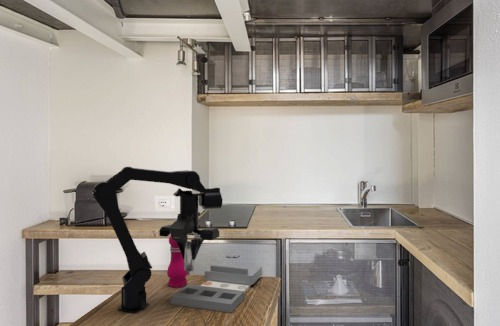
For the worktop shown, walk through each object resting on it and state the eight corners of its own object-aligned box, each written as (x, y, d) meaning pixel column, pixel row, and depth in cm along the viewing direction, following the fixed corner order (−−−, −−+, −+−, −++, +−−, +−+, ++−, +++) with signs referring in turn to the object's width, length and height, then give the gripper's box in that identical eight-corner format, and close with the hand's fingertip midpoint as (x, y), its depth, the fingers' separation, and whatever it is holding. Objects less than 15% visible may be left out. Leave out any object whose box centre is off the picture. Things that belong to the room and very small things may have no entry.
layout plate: (197, 289, 122) (197, 286, 122) (209, 280, 131) (209, 278, 131) (241, 294, 117) (241, 292, 117) (250, 285, 126) (250, 283, 126)
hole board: (170, 304, 110) (170, 295, 110) (188, 291, 120) (188, 284, 120) (231, 312, 103) (231, 304, 103) (244, 298, 114) (244, 291, 114)
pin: (182, 270, 113) (182, 242, 113) (187, 268, 116) (187, 240, 116) (191, 271, 112) (191, 242, 112) (195, 269, 115) (195, 240, 115)
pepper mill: (191, 282, 130) (191, 226, 130) (182, 289, 123) (182, 230, 123) (173, 280, 132) (173, 226, 132) (163, 287, 125) (163, 229, 125)
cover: (204, 279, 130) (204, 265, 130) (217, 270, 141) (217, 257, 141) (252, 285, 124) (252, 270, 124) (262, 275, 135) (262, 261, 135)
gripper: (148, 212, 109) (149, 263, 109) (204, 215, 103) (204, 269, 103) (168, 207, 120) (168, 254, 120) (220, 210, 114) (220, 259, 114)
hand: (189, 259), depth 114 cm, fingers closed on pin, 3 cm apart
